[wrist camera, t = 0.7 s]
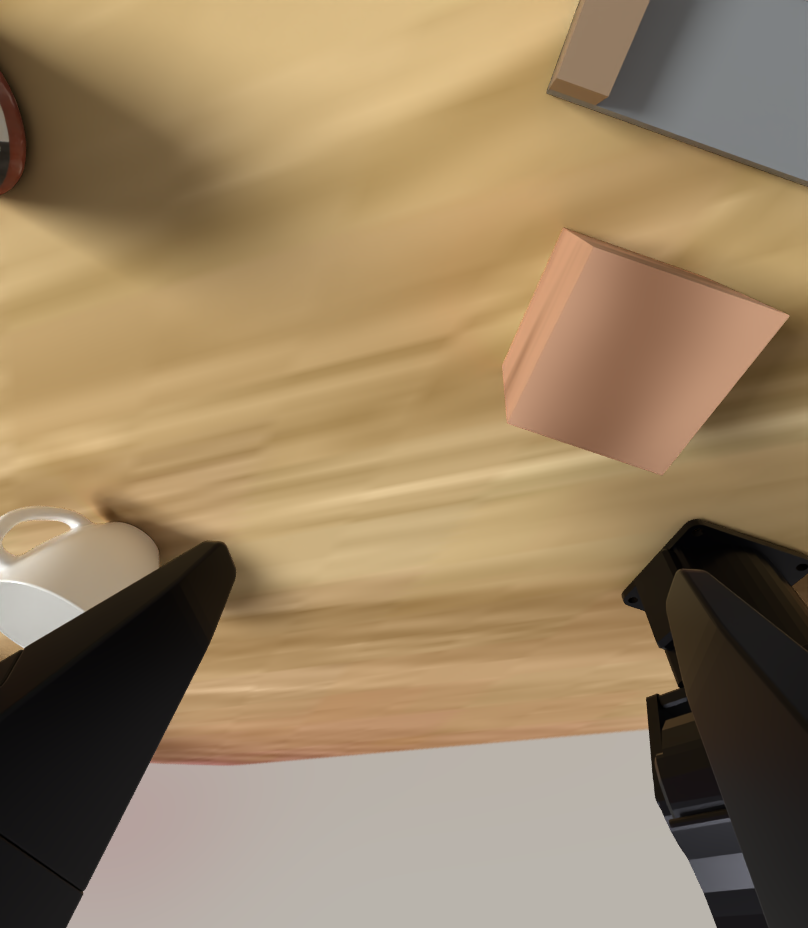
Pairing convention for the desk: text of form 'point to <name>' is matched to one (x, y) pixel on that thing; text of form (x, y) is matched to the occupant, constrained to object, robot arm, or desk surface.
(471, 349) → the desk surface
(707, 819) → the robot arm
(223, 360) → the desk surface
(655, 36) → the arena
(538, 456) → the desk surface
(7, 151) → the supplement bottle
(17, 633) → the cup
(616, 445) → the cube
